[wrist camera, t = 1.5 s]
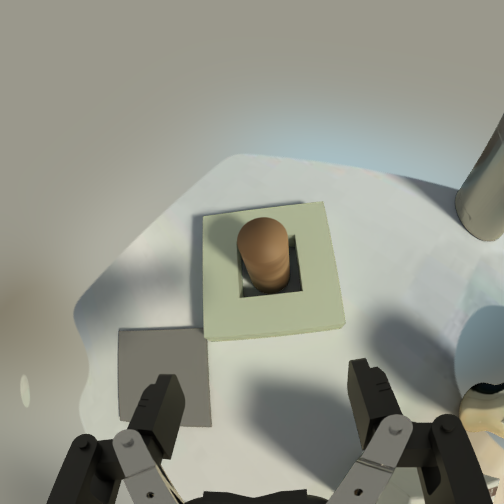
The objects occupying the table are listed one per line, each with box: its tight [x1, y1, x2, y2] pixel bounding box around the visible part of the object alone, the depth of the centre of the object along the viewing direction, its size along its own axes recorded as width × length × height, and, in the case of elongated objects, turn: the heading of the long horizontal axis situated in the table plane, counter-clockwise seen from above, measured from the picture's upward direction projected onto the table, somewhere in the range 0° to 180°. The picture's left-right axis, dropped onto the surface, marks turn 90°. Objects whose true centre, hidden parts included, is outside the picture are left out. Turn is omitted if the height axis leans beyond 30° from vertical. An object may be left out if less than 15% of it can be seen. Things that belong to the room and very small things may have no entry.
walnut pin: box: [237, 217, 290, 294], centre depth 30 cm, size 4×4×9 cm
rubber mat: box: [118, 328, 212, 427], centre depth 31 cm, size 11×11×1 cm
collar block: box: [203, 202, 346, 342], centre depth 33 cm, size 14×14×3 cm
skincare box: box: [359, 457, 500, 504], centre depth 16 cm, size 8×6×15 cm
